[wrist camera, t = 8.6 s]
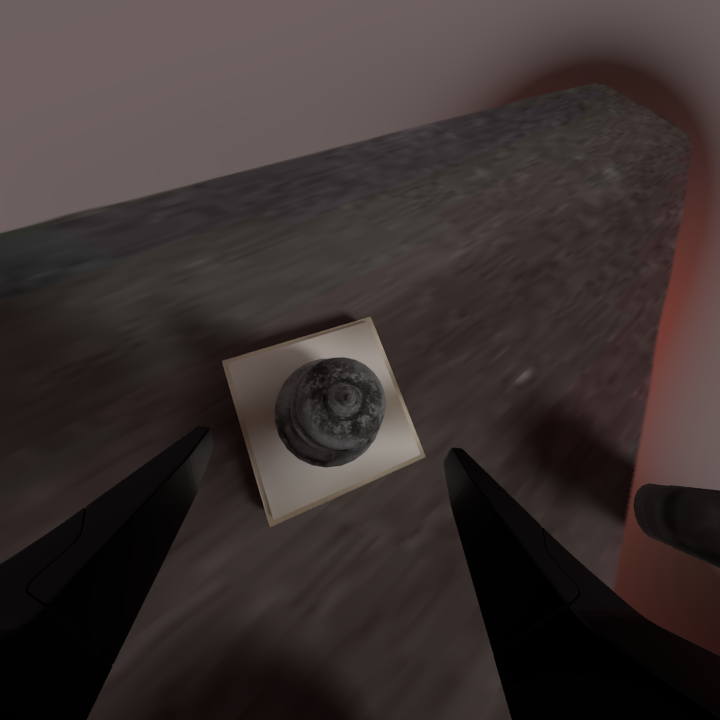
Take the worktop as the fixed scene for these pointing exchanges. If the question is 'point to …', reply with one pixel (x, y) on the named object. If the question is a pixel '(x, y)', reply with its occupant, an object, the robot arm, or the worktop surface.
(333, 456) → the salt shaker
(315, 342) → the wooden tray
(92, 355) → the worktop surface
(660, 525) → the beverage cup
